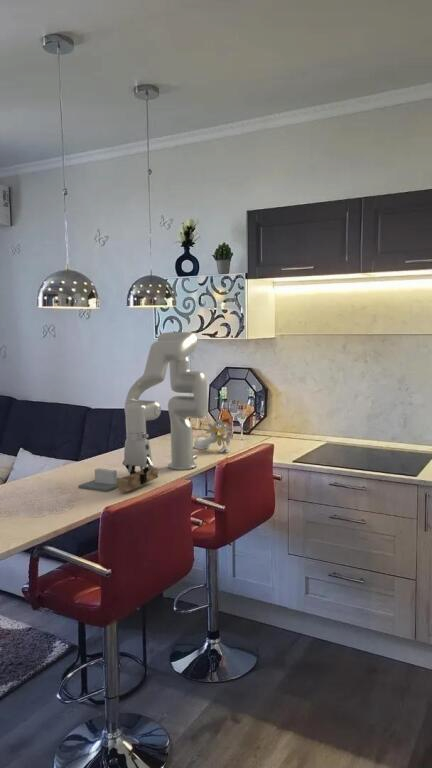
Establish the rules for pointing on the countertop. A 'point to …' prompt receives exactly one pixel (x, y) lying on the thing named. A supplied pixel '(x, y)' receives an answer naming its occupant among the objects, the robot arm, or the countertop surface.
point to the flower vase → (215, 436)
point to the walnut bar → (136, 480)
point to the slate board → (99, 486)
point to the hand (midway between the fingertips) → (138, 482)
